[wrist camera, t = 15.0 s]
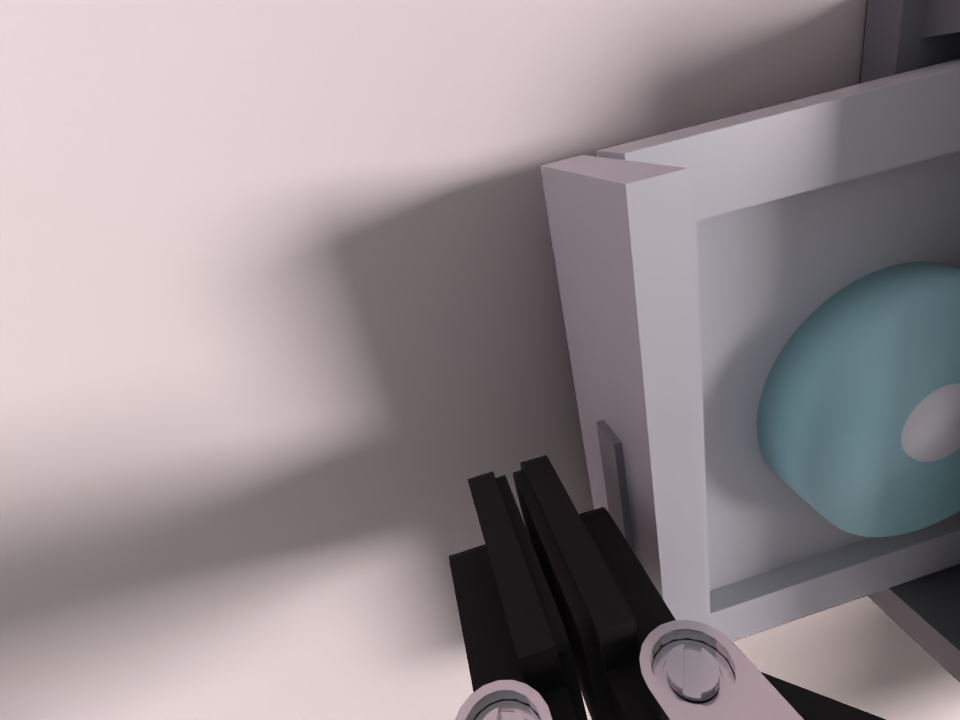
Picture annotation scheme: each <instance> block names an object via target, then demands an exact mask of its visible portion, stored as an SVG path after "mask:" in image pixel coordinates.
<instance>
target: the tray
mask: <svg viewBox="0 0 960 720" xmlns="http://www.w3.org/2000/svg"><path fill="white" fill-rule="evenodd" d="M540 169H541V176H542V182H543V189H544V195H545V201H546V208H547V214H548V220H549V227H550V233H551V240H552V246H553V252H554V259H555V265H556V271H557V278H558V284H559V291H560V297H561V303H562V310H563V316H564V323H565V329H566V335H567V342H568V348H569V354H570V361H571V367H572V374H573V380H574V386H575V393H576V399H577V406H578V412H579V418H580V425H581V431H582V437H583V444H584V450H585V457H586V463H587V469H588V476H589V482H590V488H591V495H592V501H593V508H594V510H595V509H598V508H601V507H604V508H605V509H606V510H607V511H608V512H609V514H610V515H611V517H612V518H613V520H614V522H615V523H616V525H617V526H618V528H619V530H620V531H621V533H622V534H623V536H624V538H625V539H626V541H627V542H628V544H629V546H630V547H631V549H632V550H633V552H634V554H635V555H636V557H637V558H638V560H639V562H640V563H641V565H642V566H643V568H644V570H645V571H646V573H647V574H648V576H649V578H650V579H651V581H652V583H653V584H654V586H655V587H656V589H657V591H658V592H659V594H660V595H661V597H662V599H663V600H664V602H665V603H666V605H667V607H668V608H669V610H670V611H671V613H672V615H673V616H674V618H675V619H676V620H691V621H696V622H700V623H705V624H707V625H709V626H711V627H713V628H715V629H717V630H719V631H720V632H722V633H723V634H724V635H725V636H726V637H727V638H729V639H730V640H731V641H735V640H738V639H741V638H744V637H747V636H750V635H753V634H756V633H759V632H762V631H765V630H767V629H770V628H773V627H776V626H779V625H782V624H785V623H788V622H791V621H794V620H797V619H800V618H803V617H805V616H808V615H811V614H814V613H817V612H820V611H823V610H826V609H829V608H832V607H835V606H838V605H841V604H844V603H846V602H849V601H852V600H855V599H858V598H861V597H864V596H867V595H870V594H873V593H876V592H879V591H882V590H885V589H887V588H890V587H893V586H896V585H899V584H902V583H905V582H908V581H911V580H914V579H917V578H920V577H923V576H925V575H928V574H931V573H934V572H937V571H940V570H943V569H946V568H949V567H952V566H955V565H958V564H960V511H959V512H957V513H955V514H953V515H952V516H950V517H948V518H946V519H944V520H942V521H940V522H938V523H935V524H933V525H931V526H928V527H925V528H923V529H920V530H917V531H913V532H910V533H906V534H902V535H896V536H890V537H865V536H859V535H855V534H851V533H848V532H846V531H844V530H841V529H839V528H838V527H836V526H835V525H833V524H832V523H830V522H829V521H828V520H827V519H826V518H824V517H823V516H822V515H821V514H820V513H819V512H817V511H816V510H815V509H814V508H813V507H812V506H810V505H809V504H808V503H807V502H806V501H805V500H803V499H802V498H801V497H800V496H799V495H797V494H796V493H795V492H794V491H793V490H792V489H790V488H789V487H788V486H787V485H786V484H785V483H783V482H782V481H781V480H780V479H779V478H778V477H777V476H776V475H775V474H774V473H773V472H772V471H771V470H770V468H769V467H768V465H767V464H766V462H765V460H764V458H763V455H762V453H761V451H760V447H759V442H758V437H757V416H758V408H759V403H760V399H761V394H762V391H763V388H764V386H765V383H766V380H767V377H768V375H769V373H770V371H771V369H772V367H773V365H774V363H775V361H776V359H777V358H778V356H779V354H780V353H781V351H782V349H783V348H784V346H785V345H786V343H787V342H788V341H789V339H790V338H791V337H792V335H793V334H794V333H795V331H796V330H797V329H798V328H799V327H800V326H801V325H802V323H803V322H804V321H805V320H806V319H807V318H808V317H809V316H810V315H811V314H812V313H813V312H814V311H815V310H816V309H817V308H818V307H820V306H821V305H822V304H823V303H824V302H825V301H826V300H828V299H829V298H830V297H832V296H833V295H834V294H836V293H837V292H838V291H840V290H841V289H843V288H844V287H846V286H848V285H849V284H851V283H853V282H854V281H856V280H858V279H860V278H862V277H864V276H866V275H868V274H870V273H872V272H875V271H878V270H880V269H883V268H886V267H889V266H893V265H898V264H902V263H908V262H922V261H923V262H934V263H940V264H944V265H949V266H953V267H957V268H960V59H956V60H952V61H948V62H944V63H940V64H936V65H932V66H928V67H924V68H920V69H916V70H912V71H908V72H904V73H900V74H896V75H892V76H888V77H884V78H881V79H877V80H873V81H869V82H865V83H861V84H857V85H853V86H849V87H845V88H841V89H837V90H833V91H829V92H825V93H821V94H817V95H813V96H809V97H805V98H802V99H798V100H794V101H790V102H786V103H782V104H778V105H774V106H770V107H766V108H762V109H758V110H754V111H750V112H746V113H742V114H738V115H734V116H730V117H726V118H723V119H719V120H715V121H711V122H707V123H703V124H699V125H695V126H691V127H687V128H683V129H679V130H675V131H671V132H667V133H663V134H659V135H655V136H651V137H647V138H644V139H640V140H636V141H632V142H628V143H624V144H620V145H616V146H612V147H608V148H604V149H600V150H596V156H588V155H579V156H575V157H571V158H568V159H564V160H560V161H556V162H552V163H548V164H544V165H540Z"/></svg>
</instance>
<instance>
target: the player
mask: <svg viewBox="0 0 960 720" xmlns="http://www.w3.org/2000/svg"><path fill="white" fill-rule="evenodd" d="M956 59H960V0H868V5H867V16H866V27H865V38H864V49H863V61H862V72H861V83H865V82H869V81H873V80H877V79H881V78H884V77H888V76H892V75H896V74H900V73H904V72H908V71H912V70H916V69H920V68H924V67H928V66H932V65H936V64H940V63H944V62H948V61H952V60H956ZM861 83H860V84H861ZM867 596H868V597H869V598H870V599H872V600H873V601H874V602H875V603H876V604H877V605H878V606H879V607H880V608H881V609H882V610H883V611H884V612H885V613H886V614H887V615H889V616H890V617H891V618H892V619H893V620H894V621H895V622H896V623H897V624H898V625H899V626H900V627H901V628H902V629H903V630H905V631H906V632H907V633H908V634H909V635H910V636H911V637H912V638H913V639H914V640H915V641H916V642H917V643H918V644H919V645H921V646H922V647H923V648H924V649H925V650H926V651H927V652H928V653H929V654H930V655H931V656H932V657H933V658H934V659H935V660H936V661H938V662H939V663H940V664H941V665H942V666H943V667H944V668H945V669H946V670H947V671H948V672H949V673H950V674H951V675H952V676H954V677H955V678H956V679H957V680H958V681H959V682H960V564H958V565H955V566H952V567H949V568H946V569H943V570H940V571H937V572H934V573H931V574H928V575H925V576H923V577H920V578H917V579H914V580H911V581H908V582H905V583H902V584H899V585H896V586H893V587H890V588H887V589H885V590H882V591H879V592H876V593H873V594H870V595H867Z"/></svg>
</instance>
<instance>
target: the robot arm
mask: <svg viewBox="0 0 960 720" xmlns="http://www.w3.org/2000/svg"><path fill="white" fill-rule="evenodd" d="M513 477H514V481H515V486H516V490H517V494H518V498H519V502H520V506H521V510H522V514H523V518H524V522H525V525H524V522H523V520H522V517H521V514H520V512H519V509H518V507H517V504H516V502H515V499H514V497H513V494H512V491H511V489H510V486H509V484H508V481H507V479H506V476H505V475H504V476H501V477H498V478H495V475H494V473H493V472H489V473H486V474H483V475H480V476H476V477H473V478H470V479H468V482H469V486H470V490H471V493H472V497H473V500H474V504H475V508H476V511H477V515H478V518H479V522H480V525H481V529H482V533H483V536H484V540H485V543H486V544H485V545H482V546H479V547H476V548H472V549H469V550H466V551H463V552H460V553H457V554H454V555H450V556H449V560H450V567H451V572H452V577H453V583H454V588H455V594H456V599H457V604H458V610H459V615H460V621H461V626H462V632H463V637H464V642H465V648H466V653H467V659H468V664H469V670H470V675H471V680H472V686H473V691H474V693H472V694H471V695H470V696H469V698H468V699H467V700H466V701H465V703H464V704H463V705H462V706H461V708H460V710H459V712H458V715H457V717H456V719H455V720H587V716H586V711H585V707H584V703H583V698H582V694H583V697H584V700H585V702H586V705H587V708H588V710H589V713H590V716H591V718H592V720H885V719H883V718H880V717H878V716H875V715H872V714H870V713H867V712H864V711H862V710H859V709H857V708H854V707H851V706H849V705H846V704H843V703H841V702H838V701H836V700H833V699H830V698H828V697H825V696H822V695H820V694H817V693H814V692H812V691H809V690H807V689H804V688H801V687H799V686H796V685H793V684H791V683H788V682H786V681H783V680H780V679H778V678H775V677H772V676H770V675H767V674H765V673H762V672H760V671H759V670H758V669H757V668H756V667H755V666H754V665H753V663H752V662H751V661H750V660H749V659H748V658H747V657H746V656H745V655H744V654H743V653H742V651H741V650H740V649H739V648H738V647H737V646H736V645H735V644H734V643H733V642H732V641H731V640H730V639H729V638H727V637H726V636H725V635H724V634H723V633H722V632H720V631H719V630H717V629H715V628H713V627H711V626H709V625H707V624H705V623H700V622H696V621H691V620H676V619H675V618H674V616H673V615H672V613H671V611H670V610H669V608H668V607H667V605H666V603H665V602H664V600H663V599H662V597H661V595H660V594H659V592H658V591H657V589H656V587H655V586H654V584H653V583H652V581H651V579H650V578H649V576H648V574H647V573H646V571H645V570H644V568H643V566H642V565H641V563H640V562H639V560H638V558H637V557H636V555H635V554H634V552H633V550H632V549H631V547H630V546H629V544H628V542H627V541H626V539H625V538H624V536H623V534H622V533H621V531H620V530H619V528H618V526H617V525H616V523H615V522H614V520H613V518H612V517H611V515H610V514H609V512H608V511H607V510H606V509H605V508H604V507H601V508H598V509H595V510H592V511H588V512H585V513H582V514H578V512H577V510H576V509H575V507H574V505H573V503H572V501H571V499H570V497H569V496H568V494H567V492H566V490H565V488H564V486H563V485H562V483H561V481H560V479H559V477H558V475H557V473H556V472H555V470H554V468H553V466H552V464H551V462H550V461H549V459H548V457H547V456H546V455H544V456H541V457H538V458H535V459H532V460H528V461H525V462H522V463H521V470H520V471H517V472H514V473H513ZM525 526H526V527H525ZM581 692H582V694H581Z"/></svg>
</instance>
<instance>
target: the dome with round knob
mask: <svg viewBox="0 0 960 720" xmlns="http://www.w3.org/2000/svg"><path fill="white" fill-rule="evenodd" d="M757 437H758V442H759V447H760V451H761V453H762V455H763V458H764V460H765V462H766V464H767V465H768V467H769V468H770V470H771V471H772V472H773V473H774V474H775V475H776V476H777V477H778V478H779V479H780V480H781V481H782V482H783V483H785V484H786V485H787V486H788V487H789V488H790V489H792V490H793V491H794V492H795V493H796V494H797V495H799V496H800V497H801V498H802V499H803V500H805V501H806V502H807V503H808V504H809V505H810V506H812V507H813V508H814V509H815V510H816V511H817V512H819V513H820V514H821V515H822V516H823V517H824V518H826V519H827V520H828V521H829V522H830V523H832V524H833V525H835V526H836V527H838V528H839V529H841V530H844V531H846V532H848V533H851V534H855V535H859V536H865V537H890V536H896V535H902V534H906V533H910V532H913V531H917V530H920V529H923V528H925V527H928V526H931V525H933V524H935V523H938V522H940V521H942V520H944V519H946V518H948V517H950V516H952V515H953V514H955V513H957V512H959V511H960V268H957V267H953V266H949V265H944V264H940V263H934V262H923V261H922V262H908V263H902V264H898V265H893V266H889V267H886V268H883V269H880V270H878V271H875V272H872V273H870V274H868V275H866V276H864V277H862V278H860V279H858V280H856V281H854V282H853V283H851V284H849V285H848V286H846V287H844V288H843V289H841V290H840V291H838V292H837V293H836V294H834V295H833V296H832V297H830V298H829V299H828V300H826V301H825V302H824V303H823V304H822V305H821V306H820V307H818V308H817V309H816V310H815V311H814V312H813V313H812V314H811V315H810V316H809V317H808V318H807V319H806V320H805V321H804V322H803V323H802V325H801V326H800V327H799V328H798V329H797V330H796V331H795V333H794V334H793V335H792V337H791V338H790V339H789V341H788V342H787V343H786V345H785V346H784V348H783V349H782V351H781V353H780V354H779V356H778V358H777V359H776V361H775V363H774V365H773V367H772V369H771V371H770V373H769V375H768V377H767V380H766V383H765V386H764V388H763V391H762V394H761V399H760V403H759V408H758V416H757Z"/></svg>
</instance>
